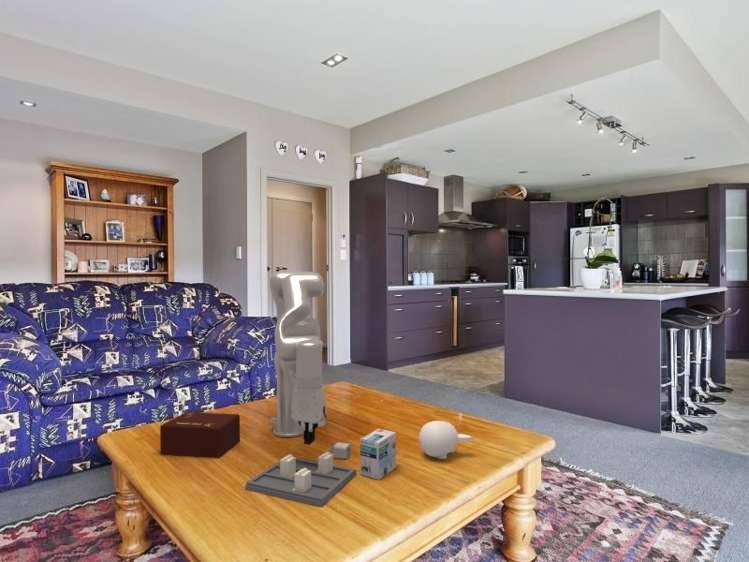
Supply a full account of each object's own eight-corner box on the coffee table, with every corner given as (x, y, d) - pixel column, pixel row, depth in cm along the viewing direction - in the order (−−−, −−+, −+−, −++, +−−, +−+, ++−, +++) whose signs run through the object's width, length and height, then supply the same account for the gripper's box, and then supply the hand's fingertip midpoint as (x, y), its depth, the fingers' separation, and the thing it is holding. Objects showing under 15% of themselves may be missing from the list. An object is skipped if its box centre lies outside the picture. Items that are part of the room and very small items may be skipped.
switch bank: (245, 489, 123) (245, 482, 123) (287, 461, 141) (287, 455, 141) (321, 507, 113) (321, 500, 113) (356, 474, 131) (356, 468, 131)
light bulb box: (379, 480, 127) (378, 443, 127) (359, 475, 131) (359, 438, 131) (397, 467, 136) (397, 431, 136) (378, 462, 140) (378, 427, 140)
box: (242, 440, 160) (241, 412, 160) (219, 459, 144) (219, 428, 144) (188, 437, 163) (187, 410, 163) (159, 455, 147) (159, 425, 147)
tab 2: (294, 490, 119) (294, 471, 119) (301, 485, 122) (301, 466, 122) (304, 492, 118) (304, 473, 118) (311, 487, 121) (311, 468, 121)
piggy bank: (429, 470, 138) (465, 462, 146) (438, 436, 135) (475, 431, 143) (407, 445, 148) (442, 440, 156) (415, 414, 145) (451, 410, 153)
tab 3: (318, 472, 130) (318, 455, 130) (324, 467, 133) (324, 450, 133) (327, 474, 129) (327, 456, 128) (333, 469, 132) (333, 452, 132)
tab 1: (280, 475, 128) (279, 457, 128) (287, 470, 131) (286, 453, 131) (288, 477, 127) (288, 459, 127) (295, 472, 130) (295, 455, 130)
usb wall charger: (346, 460, 142) (346, 447, 142) (326, 457, 144) (326, 445, 144) (350, 455, 145) (350, 443, 145) (331, 452, 148) (331, 440, 148)
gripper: (280, 382, 132) (280, 443, 133) (324, 388, 126) (324, 452, 127) (295, 376, 139) (295, 434, 140) (337, 382, 133) (337, 442, 134)
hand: (309, 442), depth 134 cm, fingers closed
